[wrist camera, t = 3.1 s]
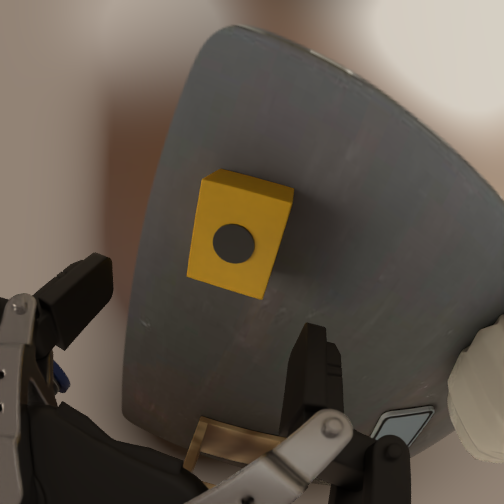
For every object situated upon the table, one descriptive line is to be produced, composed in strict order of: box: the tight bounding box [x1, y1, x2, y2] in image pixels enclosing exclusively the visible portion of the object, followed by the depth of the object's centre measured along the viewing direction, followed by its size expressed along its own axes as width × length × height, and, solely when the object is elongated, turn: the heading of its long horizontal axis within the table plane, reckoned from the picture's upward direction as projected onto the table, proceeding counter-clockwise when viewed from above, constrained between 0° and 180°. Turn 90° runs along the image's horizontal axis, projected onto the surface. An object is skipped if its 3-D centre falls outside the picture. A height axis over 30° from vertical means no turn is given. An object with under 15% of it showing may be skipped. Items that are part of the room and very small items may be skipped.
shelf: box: [183, 416, 286, 489], centre depth 28 cm, size 12×12×14 cm
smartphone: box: [370, 406, 434, 447], centre depth 28 cm, size 7×1×15 cm
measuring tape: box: [187, 169, 294, 299], centre depth 18 cm, size 5×7×4 cm
